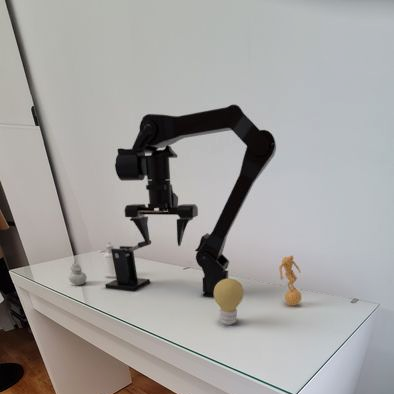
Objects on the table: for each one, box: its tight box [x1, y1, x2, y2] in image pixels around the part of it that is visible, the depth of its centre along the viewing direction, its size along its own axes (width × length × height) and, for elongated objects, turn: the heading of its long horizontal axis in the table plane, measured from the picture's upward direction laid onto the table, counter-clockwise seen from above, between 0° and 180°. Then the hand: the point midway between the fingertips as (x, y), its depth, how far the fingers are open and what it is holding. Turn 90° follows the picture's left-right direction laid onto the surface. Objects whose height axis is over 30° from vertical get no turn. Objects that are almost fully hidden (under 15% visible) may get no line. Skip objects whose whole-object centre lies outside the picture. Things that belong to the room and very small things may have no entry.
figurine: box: [278, 254, 302, 307], centre depth 70 cm, size 8×6×12 cm
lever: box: [124, 239, 152, 257], centre depth 85 cm, size 11×5×2 cm, turn 66°
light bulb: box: [213, 277, 245, 326], centre depth 62 cm, size 6×6×10 cm
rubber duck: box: [68, 260, 87, 286], centre depth 94 cm, size 5×7×8 cm
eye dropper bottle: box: [102, 240, 117, 279], centre depth 99 cm, size 4×6×12 cm
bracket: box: [104, 245, 151, 292], centre depth 90 cm, size 11×9×12 cm
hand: (163, 245), depth 79 cm, fingers open, 9 cm apart
